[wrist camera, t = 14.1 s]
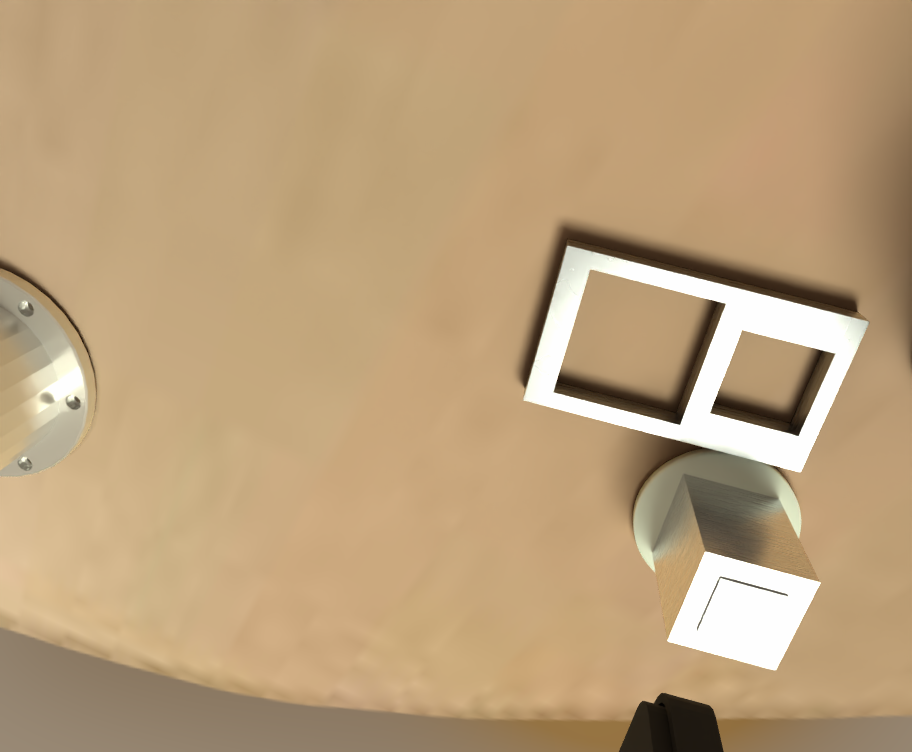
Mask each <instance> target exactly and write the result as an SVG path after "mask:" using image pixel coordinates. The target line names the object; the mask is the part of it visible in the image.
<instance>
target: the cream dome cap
mask: <svg viewBox="0 0 912 752" xmlns="http://www.w3.org/2000/svg"><path fill="white" fill-rule="evenodd" d="M683 473H684V474H688V475H691V476H695V477H699V478H703V479H706V480H710V481H714V482H718V483H722V484H725V485H729V486H733V487H737V488H740V489H744V490H748V491H752V492H755V493H759V494H763V495H767V496H771V497H774V498H778V499H780V501H781V503H782V506H783V508H784V510H785V512H786V514H787V516H788V518H789V520H790V522H791V524H792V526H793V528H794V530H795V532H796V534H797V536H798V538H799V535H800V531H801V513H800V508H799V504H798V501H797V499H796V497H795V495H794V493H793V491H792V489H791V487H790V485H789V484H788V482H787V481H786V479H785V478H784V477H783V475H782V474H781V473H780V472H779V471H778V470H777V469H776V468H775V467H773V466H772V465H770V464H766V463H763V462H759V461H755V460H751V459H747V458H743V457H740V456H736V455H732V454H728V453H724V452H720V451H717V450H713V449H709V448H706V449H699V450H695V451H691V452H687V453H685V454H682V455H680V456H677V457H675V458H673V459H672V460H670V461H668V462H666V463H665V464H663V465H662V466H661V467H659V468H658V469H657V470H656V471H655V472H654V473H653V474H652V475H651V476H650V477H649V478H648V479H647V480H646V482H645V483H644V485H643V486H642V488H641V489H640V491H639V494H638V496H637V498H636V501H635V505H634V510H633V528H634V534H635V540H636V543H637V546H638V549H639V551H640V553H641V555H642V557H643V559H644V560H645V561H646V563H647V564H648V565H649V566H650V568H651V569H652V570H653V571H654V572H655V567H654V561H653V556H652V551H653V548H654V546H655V543H656V541H657V538H658V536H659V533H660V531H661V528H662V526H663V523H664V521H665V518H666V516H667V513H668V510H669V508H670V505H671V503H672V500H673V498H674V495H675V493H676V490H677V488H678V485H679V483H680V480H681V478H682V475H683Z"/></svg>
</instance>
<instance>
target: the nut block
mask: <svg viewBox="0 0 912 752" xmlns="http://www.w3.org/2000/svg"><path fill="white" fill-rule="evenodd" d="M652 556H653V561H654V567H655V573H656V579H657V584H658V590H659V596H660V601H661V607H662V613H663V619H664V624H665V630H666V636H667V641H669V642H673V643H676V644H680V645H684V646H687V647H691V648H695V649H698V650H702V651H706V652H709V653H713V654H717V655H720V656H724V657H728V658H731V659H735V660H739V661H742V662H746V663H750V664H753V665H757V666H761V667H764V668H768V669H772V670H775V671H776V669H777V667H778V665H779V663H780V661H781V659H782V657H783V655H784V653H785V651H786V649H787V647H788V645H789V643H790V641H791V639H792V637H793V635H794V633H795V631H796V629H797V627H798V625H799V623H800V621H801V619H802V617H803V615H804V614H805V612H806V610H807V608H808V606H809V604H810V602H811V600H812V598H813V596H814V594H815V592H816V590H817V588H818V586H819V584H820V581H819V579H818V577H817V575H816V573H815V571H814V569H813V567H812V565H811V563H810V561H809V559H808V557H807V555H806V553H805V551H804V549H803V547H802V545H801V542H800V540H799V538H798V536H797V534H796V532H795V530H794V528H793V526H792V524H791V522H790V520H789V518H788V516H787V514H786V512H785V510H784V508H783V506H782V503H781V501H780V499H778V498H774V497H771V496H767V495H763V494H759V493H755V492H752V491H748V490H744V489H740V488H737V487H733V486H729V485H725V484H722V483H718V482H714V481H710V480H706V479H703V478H699V477H695V476H691V475H688V474H684V473H683V475H682V478H681V480H680V483H679V485H678V488H677V490H676V493H675V495H674V498H673V500H672V503H671V505H670V508H669V510H668V513H667V516H666V518H665V521H664V523H663V526H662V528H661V531H660V533H659V536H658V538H657V541H656V543H655V546H654V548H653V551H652Z"/></svg>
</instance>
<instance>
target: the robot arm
mask: <svg viewBox="0 0 912 752" xmlns="http://www.w3.org/2000/svg"><path fill="white" fill-rule="evenodd" d="M95 403H96V387H95V378H94V372H93V369H92V366H91V362H90V359H89V355H88V353H87V351H86V349H85V347H84V345H83V343H82V341H81V339H80V336H79V334H78V333H77V331H76V330H75V329H74V327H73V326H72V324H71V323H70V321H69V320H68V319H67V317H66V316H65V314H64V313H63V312H62V311H61V310H60V309H59V308H58V307H57V306H56V305H55V304H54V303H53V302H52V301H51V300H50V299H49V298H48V297H47V296H46V295H45V294H43V293H42V292H41V291H39V290H38V289H37V288H36V287H34V286H33V285H32V284H30V283H29V282H27V281H25V280H24V279H22V278H20V277H18V276H16V275H15V274H13V273H11V272H9V271H6V270H4V269H1V268H0V477H23V476H29V475H34V474H38V473H40V472H42V471H45V470H47V469H49V468H52V467H54V466H55V465H56V464H58V463H59V462H60V461H62V460H63V459H64V458H66V457H67V456H68V455H69V454H71V453H72V452H73V451H74V450H75V449H76V448H77V447H78V446H79V445H80V444H81V442H82V440H83V439H84V437H85V436H86V434H87V432H88V431H89V428H90V425H91V422H92V419H93V416H94V413H95ZM619 752H723V748H722V743H721V738H720V734H719V730H718V725H717V721H716V717H715V714H714V711H713V709H712V708H711V707H710V706H709V705H706V704H702V703H699V702H695V701H691V700H688V699H684V698H680V697H677V696H673V695H669V694H666V693H661V694H660V695H659V696H658V697H657V699H656V701H655V703H654V704H653V703H649V702H646V701H642V702H641V703H640V704H639V706H638V708H637V710H636V712H635V715H634V717H633V720H632V722H631V724H630V727H629V729H628V732H627V734H626V736H625V739H624V741H623V743H622V746H621V748H620V751H619Z"/></svg>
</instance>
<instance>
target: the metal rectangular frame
mask: <svg viewBox="0 0 912 752" xmlns="http://www.w3.org/2000/svg"><path fill="white" fill-rule="evenodd" d="M590 269H592V270H596V271H600V272H603V273H607V274H611V275H615V276H619V277H623V278H627V279H631V280H635V281H639V282H643V283H647V284H651V285H655V286H659V287H663V288H667V289H670V290H674V291H678V292H682V293H686V294H690V295H694V296H698V297H702V298H706V299H710V300H714V301H718V303H717V305H716V308H715V311H714V313H713V316H712V319H711V321H710V324H709V327H708V329H707V332H706V335H705V337H704V340H703V343H702V345H701V348H700V351H699V354H698V356H697V359H696V362H695V364H694V367H693V370H692V372H691V375H690V378H689V380H688V383H687V386H686V388H685V391H684V394H683V396H682V399H681V402H680V404H679V407H678V410H677V412H676V413H675V412H671V411H667V410H663V409H659V408H655V407H652V406H648V405H644V404H640V403H636V402H632V401H628V400H625V399H621V398H617V397H613V396H609V395H605V394H601V393H598V392H594V391H590V390H586V389H582V388H578V387H574V386H571V385H567V384H563V383H559V382H556V381H557V378H558V374H559V371H560V368H561V364H562V361H563V358H564V354H565V351H566V348H567V345H568V341H569V338H570V335H571V331H572V328H573V325H574V321H575V318H576V315H577V311H578V308H579V305H580V301H581V298H582V295H583V291H584V288H585V285H586V281H587V278H588V275H589V271H590ZM868 324H869V321H868V320H867V319H866V318H864V317H863V316H862V315H861V314H860V313H859V312H856V311H852V310H848V309H844V308H840V307H836V306H832V305H828V304H824V303H820V302H816V301H812V300H808V299H804V298H800V297H796V296H792V295H788V294H784V293H780V292H776V291H773V290H769V289H765V288H761V287H757V286H753V285H749V284H745V283H741V282H737V281H733V280H729V279H725V278H721V277H717V276H713V275H709V274H705V273H701V272H697V271H693V270H689V269H685V268H681V267H677V266H674V265H670V264H666V263H662V262H658V261H654V260H650V259H646V258H642V257H638V256H634V255H630V254H626V253H622V252H618V251H614V250H610V249H606V248H602V247H598V246H594V245H590V244H586V243H582V242H578V241H575V240H571V239H567V242H566V246H565V249H564V253H563V256H562V260H561V263H560V267H559V270H558V274H557V277H556V281H555V284H554V288H553V291H552V295H551V298H550V302H549V305H548V309H547V312H546V316H545V319H544V323H543V326H542V330H541V333H540V337H539V341H538V344H537V348H536V351H535V355H534V358H533V362H532V365H531V369H530V372H529V376H528V379H527V383H526V386H525V391H524V399H523V400H525V401H529V402H532V403H536V404H540V405H544V406H548V407H552V408H555V409H559V410H563V411H567V412H571V413H575V414H578V415H582V416H586V417H590V418H594V419H598V420H601V421H605V422H609V423H613V424H617V425H621V426H624V427H628V428H632V429H636V430H640V431H644V432H647V433H651V434H655V435H659V436H663V437H667V438H670V439H674V440H678V441H682V442H686V443H690V444H693V445H697V446H701V447H705V448H709V449H713V450H717V451H720V452H724V453H728V454H732V455H736V456H740V457H743V458H747V459H751V460H755V461H759V462H763V463H766V464H770V465H774V466H778V467H782V468H786V469H789V470H793V471H797V472H801V470H802V468H803V466H804V464H805V462H806V459H807V457H808V455H809V453H810V451H811V448H812V446H813V444H814V442H815V440H816V438H817V435H818V433H819V431H820V429H821V427H822V424H823V422H824V420H825V418H826V416H827V414H828V411H829V409H830V407H831V405H832V403H833V401H834V398H835V396H836V394H837V392H838V390H839V387H840V385H841V383H842V381H843V379H844V377H845V374H846V372H847V370H848V368H849V366H850V363H851V361H852V359H853V357H854V355H855V353H856V350H857V348H858V346H859V344H860V342H861V339H862V337H863V335H864V333H865V331H866V329H867V326H868ZM742 330H745V331H749V332H753V333H757V334H761V335H765V336H769V337H772V338H776V339H780V340H784V341H788V342H792V343H796V344H800V345H804V346H808V347H812V348H816V349H820V350H823V351H822V353H821V355H820V358H819V360H818V362H817V364H816V367H815V369H814V371H813V373H812V376H811V378H810V380H809V383H808V385H807V387H806V389H805V392H804V394H803V396H802V398H801V401H800V403H799V405H798V407H797V410H796V412H795V414H794V417H793V419H792V421H791V423H788V422H784V421H780V420H776V419H772V418H768V417H764V416H760V415H757V414H753V413H749V412H745V411H741V410H737V409H733V408H730V407H726V406H722V405H718V404H714V400H715V397H716V395H717V392H718V390H719V387H720V385H721V382H722V380H723V377H724V375H725V372H726V369H727V367H728V364H729V362H730V359H731V357H732V354H733V352H734V349H735V346H736V344H737V341H738V339H739V336H740V334H741V331H742Z"/></svg>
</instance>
